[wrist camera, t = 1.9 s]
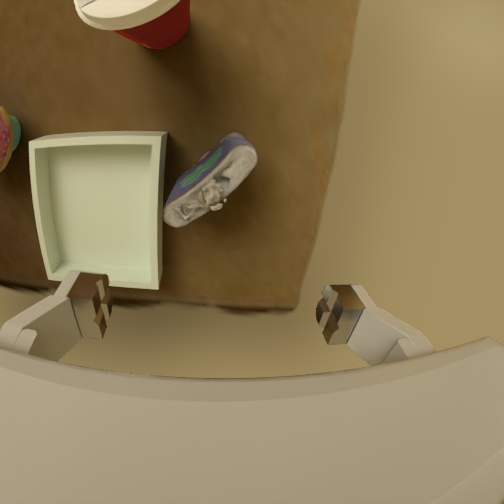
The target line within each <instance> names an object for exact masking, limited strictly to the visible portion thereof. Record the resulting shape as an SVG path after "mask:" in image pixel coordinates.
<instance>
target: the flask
mask: <svg viewBox="0 0 504 504" xmlns="http://www.w3.org/2000/svg"><path fill="white" fill-rule="evenodd" d="M258 159H259V156H258V153H257V151H256V150H255V148H254V147H253V145H252V144H250V143H249V142H248V141H247V140H246V139H245V138H244V137H243V136H242V135H241V134H240V133H235V132H234V133H230V134H228V135H227V136H225V137H224V138H222V139H221V140H220V142H219V143H218V145H216V146H215V147H214V148H212V149H211V150H209V151H208V152H205V154H204V155H203V156H202V158H201V159H200V161H199V162H198V163H197V164H193V166H192V168H191V169H190V170H188V171H185V172H184V173H183V174H182V175H180V176H179V177H178V178H177V179H176V181H175V185H174V187H173V189H172V191H171V193H170V196H169V198H168V200H167V202H166V205H165V206H164V209H163V212H162V220H163V221H165V222H166V223H167V224H168V225H169V226H171V227H174V228H181V227H184V226H186V225H188V224H190V223H191V222H193V221H195V220H196V219H198V218H200V217H201V216H203V215H204V214H206V213H208V212H209V211H211V210H213V211H216V210H219V209H221V208H222V207H223V204H220V203H221V202H222V201H223V200H224V203H225V202H226V201H227V199H226V198H227V197H228V196H229V195H230V194H231V193H232V192H233V191H234V190H235V189H236V188H237V187H238V186H239V185H240V184H241V183H242V182H243V181H244V180H245V179H246V178H247V177H248V175H249V174H250V173H251V172H252V171H253V170H254V169H255V166H256V165H257V163H258Z"/></svg>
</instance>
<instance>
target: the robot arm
mask: <svg viewBox="0 0 504 504" xmlns="http://www.w3.org/2000/svg"><path fill="white" fill-rule="evenodd" d="M108 286H109V278H108V275H107V274H106V273H97V272H88V271H79V270H70V271H69V272H68V273H67V275H66V276H65V278H64V279H63V281H62V283H61V284H60V286H59V287H58V289H57V291H56V292H55V294H54V296H53V295H50V296H48V297H46V298H45V299H43V300H41V301H39V302H38V303H36V304H34V305H33V306H31V307H30V308H28V309H26V310H24V311H23V312H21V313H19V314H18V315H16V316H15V317H13V318H12V319H10V320H8V321H7V322H5V323H4V325H3V327H2V328H1V330H0V504H504V344H503V343H501V342H499V341H498V340H496V339H494V338H492V337H484V338H481V339H478V340H475V341H472V342H469V343H466V344H462V345H459V346H456V347H452V348H449V349H445V350H442V351H438V352H436V350H435V349H434V347H433V346H432V345H431V343H430V342H429V340H428V339H427V338H426V336H425V335H424V334H423V333H421V332H420V331H418V330H416V329H415V328H413V327H411V326H410V325H408V324H406V323H405V322H403V321H401V320H400V319H398V318H396V317H395V316H393V315H391V314H389V313H388V312H386V311H385V310H383V309H381V308H377V306H376V305H375V304H374V302H373V301H372V299H371V298H370V297H369V295H368V294H367V292H366V291H365V290H364V288H363V287H362V286H361V285H359V284H348V285H325V286H324V288H323V291H322V295H323V298H322V299H321V300H320V301H319V302H318V305H317V308H316V318H317V322H318V324H319V325H320V326H321V327H323V328H324V330H323V335H324V337H325V340H326V342H327V344H328V345H334V344H347V346H349V347H350V348H351V349H352V350H353V351H354V352H355V353H357V354H358V355H359V356H360V357H361V358H362V359H363V360H364V361H366V362H367V363H368V364H369V365H370V366H368V367H362V368H356V369H350V370H343V371H335V372H327V373H318V374H307V375H297V376H282V377H263V378H185V377H167V376H153V375H143V374H133V373H125V372H117V371H109V370H102V369H96V368H90V367H84V366H78V365H73V364H68V363H63V362H58V361H59V360H60V359H61V358H62V357H63V356H64V355H65V354H66V353H67V352H68V351H69V350H70V349H71V348H72V347H73V346H74V345H75V344H76V343H78V341H80V340H81V339H82V337H85V338H94V339H103V337H104V334H105V331H106V328H107V325H106V320H108V319H109V318H110V315H111V312H112V295H111V293H110V291H109V290H108V289H107V288H108Z"/></svg>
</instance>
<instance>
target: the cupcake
mask: <svg viewBox="0 0 504 504" xmlns="http://www.w3.org/2000/svg"><path fill="white" fill-rule="evenodd" d="M20 137H21V127H20V124H19V121H18V120H17V119H16V118H15V117H14V116H12V115H8V113H7V111H6V110H5V108H3V107H2V106H0V172H1V171H2V170H3V169H4V168H5V167H6V166H7V163H8V161H9V159H10V158H11V155H12V152H13V151H14V150H15V149H16V147H17V146H18V144H19V141H20Z"/></svg>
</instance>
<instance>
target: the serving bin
mask: <svg viewBox="0 0 504 504" xmlns="http://www.w3.org/2000/svg"><path fill="white" fill-rule="evenodd" d="M166 143H167V132H158V131H104V132H82V133H67V134H56V135H47V136H44V137H41V138H38V139H35V140H32V141H29V162H30V178H31V189H32V198H33V206H34V213H35V220H36V226H37V231H38V237H39V242H40V247H41V251H42V256H43V260H44V264H45V268H46V272H47V276H48V280H56V281H63V279H64V278H65V276H66V275H67V273H68V272H69V271H70V270H79V271H88V272H97V273H106V274H107V275H108V278H109V286H117V287H129V288H143V289H157V290H159V285H160V280H161V275H162V270H163V268H162V212H163V189H164V170H165V155H166Z"/></svg>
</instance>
